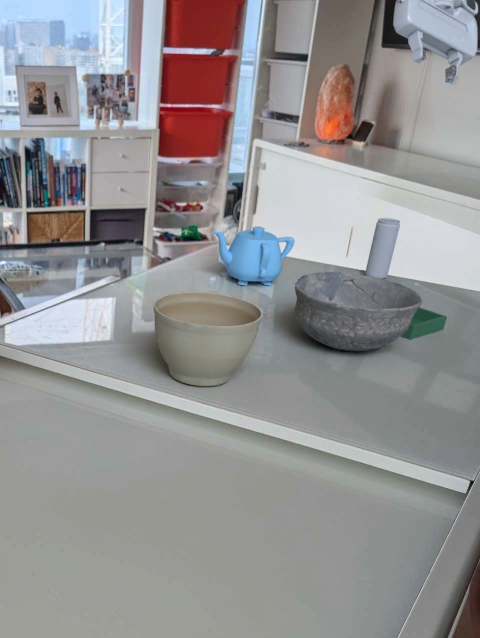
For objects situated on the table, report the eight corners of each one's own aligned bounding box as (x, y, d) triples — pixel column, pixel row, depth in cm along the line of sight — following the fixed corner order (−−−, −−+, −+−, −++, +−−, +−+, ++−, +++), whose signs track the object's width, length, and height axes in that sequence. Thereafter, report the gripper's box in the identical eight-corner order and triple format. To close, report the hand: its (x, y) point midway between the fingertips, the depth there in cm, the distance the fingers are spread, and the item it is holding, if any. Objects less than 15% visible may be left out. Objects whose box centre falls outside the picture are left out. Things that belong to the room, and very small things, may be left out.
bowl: (433, 359, 128) (451, 301, 123) (338, 376, 120) (352, 315, 115) (350, 319, 144) (362, 266, 138) (261, 332, 136) (270, 276, 130)
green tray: (397, 313, 148) (400, 300, 146) (443, 329, 141) (447, 316, 139) (363, 322, 143) (366, 309, 141) (410, 339, 136) (413, 326, 134)
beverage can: (364, 278, 166) (378, 221, 160) (363, 272, 170) (376, 216, 164) (387, 281, 166) (402, 223, 159) (386, 275, 170) (399, 219, 163)
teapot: (290, 284, 163) (301, 229, 157) (256, 294, 153) (266, 237, 148) (240, 271, 170) (249, 218, 164) (204, 281, 160) (212, 225, 154)
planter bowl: (269, 392, 114) (282, 322, 108) (170, 401, 110) (177, 329, 104) (225, 352, 127) (234, 288, 121) (134, 359, 123) (139, 293, 117)
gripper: (413, -34, 137) (413, 40, 136) (483, 8, 147) (484, 77, 146) (385, -12, 143) (384, 59, 142) (454, 27, 153) (454, 94, 152)
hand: (435, 68), depth 144 cm, fingers open, 8 cm apart
